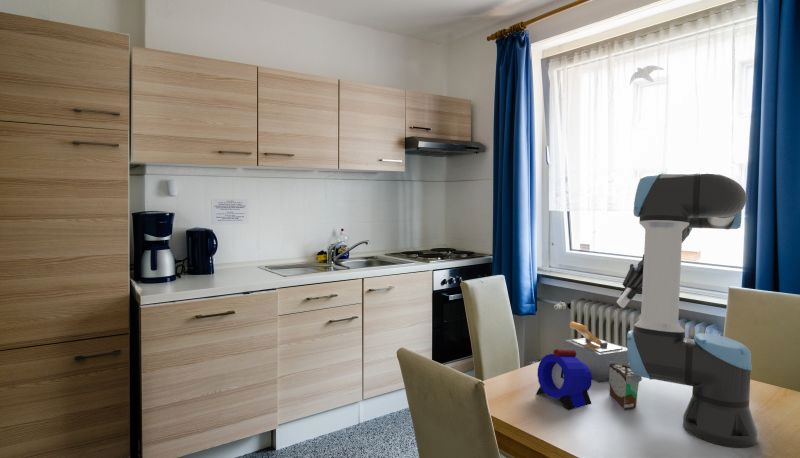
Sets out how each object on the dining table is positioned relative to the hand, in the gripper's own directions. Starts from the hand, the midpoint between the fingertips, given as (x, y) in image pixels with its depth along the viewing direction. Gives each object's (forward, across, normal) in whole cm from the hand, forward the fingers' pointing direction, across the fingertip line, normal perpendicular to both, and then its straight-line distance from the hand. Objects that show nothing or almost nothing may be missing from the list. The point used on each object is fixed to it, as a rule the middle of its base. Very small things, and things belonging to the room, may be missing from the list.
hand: (620, 304), depth 158 cm
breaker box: (+22, +1, -10) cm, 24 cm away
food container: (+29, -21, -3) cm, 36 cm away
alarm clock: (+39, -12, +6) cm, 41 cm away
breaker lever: (+15, +1, -2) cm, 15 cm away
